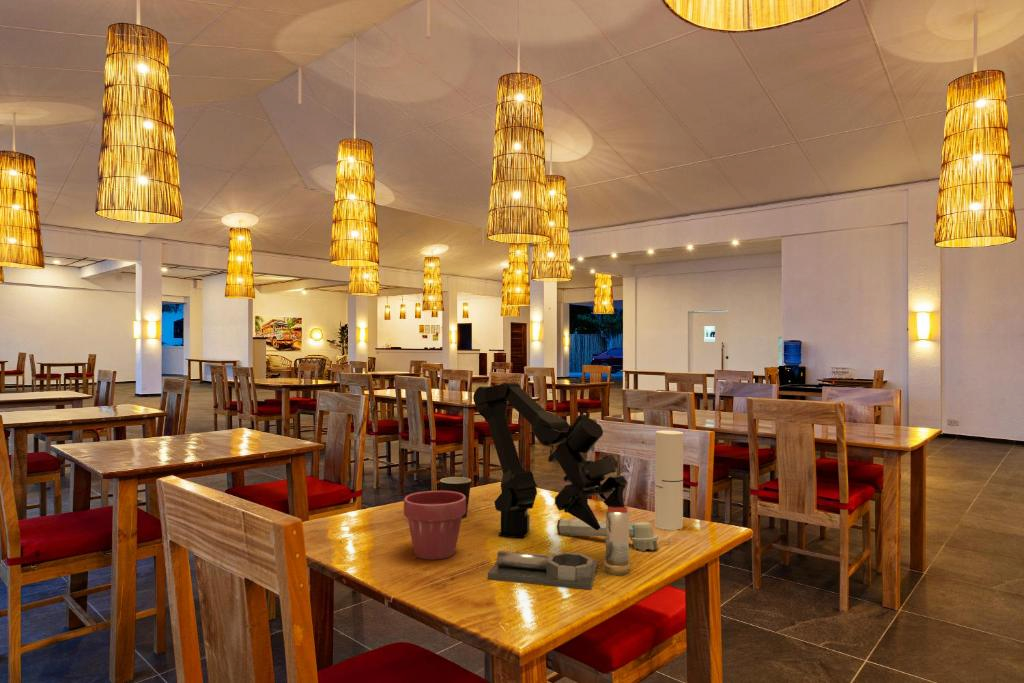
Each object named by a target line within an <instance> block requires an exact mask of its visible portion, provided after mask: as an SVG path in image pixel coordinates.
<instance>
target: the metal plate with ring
mask: <svg viewBox="0 0 1024 683" xmlns="http://www.w3.org/2000/svg"><path fill="white" fill-rule="evenodd" d="M598 567H599V560H595V559H594V558H593V557H590V556H587V555H586V554H584V553H580V552H579V553H578V552H577V553H576V552H569V551H568V552H567V551H565V552H557V553H554V554H543V553H542V554H539V553H528V552H518V551H516V552H515V551H509V550H508V551H507V550H498V552H497V556H496V562H495V563H494V565H492V566H491V568H490V569H489V571H487V579H488V580H495V581H496V580H497V581H503V582H513V581H514V583H522V582H523V583H522V584H532V583H533V585H541V584H544V585H543V586H552V587H562V588H571V589H572V588H573V589H578V590H579V589H582V590H592V587H593V584H594V581H595V577H596V573H597V570H598Z"/></svg>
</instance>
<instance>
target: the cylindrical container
mask: <svg viewBox="0 0 1024 683" xmlns="http://www.w3.org/2000/svg"><path fill="white" fill-rule="evenodd" d="M654 454H655V466H654V467H655V470H654V471H655V472H654V474H655V476H654V480H655V481H654V486H655V487H654V488H655V489H654V491H655V492H654V497H655V498H654V527H656V528H657V527H658V528H657V529H660V528H661V529H660V530H664V529H666V531H677V530H676V529H680V530H682V529H683V528H684V527H683V526H684V525H683V524H684V522H683V521H684V519H683V516H684V514H683V512H684V511H683V510H684V484H683V483H684V432H683V431H678V430H669V429H668V430H666V429H665V430H663V429H662V430H656V431H655V453H654ZM682 527H683V528H682ZM681 528H682V529H681Z"/></svg>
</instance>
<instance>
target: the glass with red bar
mask: <svg viewBox="0 0 1024 683" xmlns="http://www.w3.org/2000/svg"><path fill="white" fill-rule="evenodd" d="M605 522H606V536H605V559H604V561H603V562H604V563H603V571H604V572H605V573H606V574H608V575H611V576H626V575H629V574H630V573H631V562H630V556H629V554H630V537H629V523H630V511H629V510H628V507H627V506H625V507H614V506H607V509H606V510H605Z"/></svg>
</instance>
